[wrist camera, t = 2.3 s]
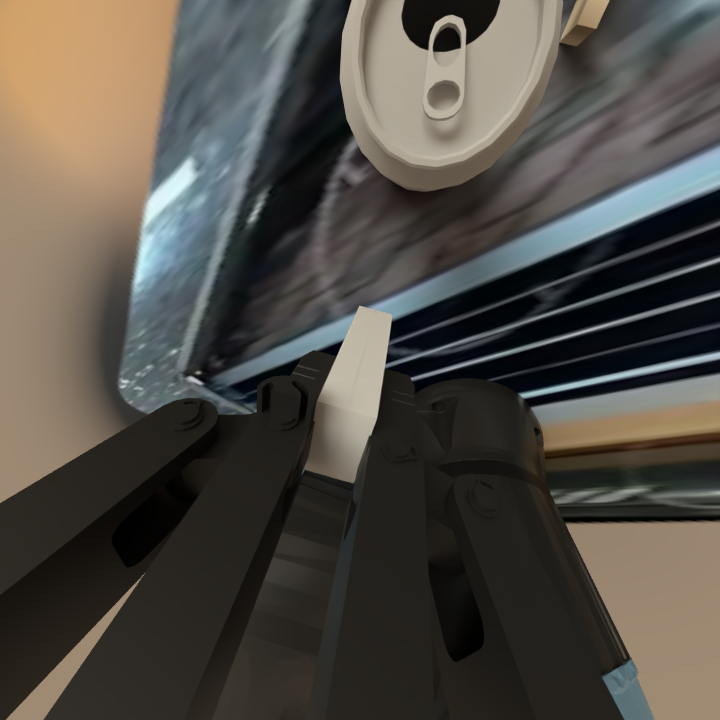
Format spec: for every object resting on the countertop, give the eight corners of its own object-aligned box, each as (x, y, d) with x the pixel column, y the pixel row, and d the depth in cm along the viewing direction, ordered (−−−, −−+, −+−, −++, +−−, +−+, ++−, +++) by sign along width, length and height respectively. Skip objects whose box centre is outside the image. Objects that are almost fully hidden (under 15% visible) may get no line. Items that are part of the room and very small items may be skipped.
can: (498, 38, 16) (650, -228, 6) (476, 189, 20) (544, 185, 10) (370, 54, 17) (314, -147, 7) (372, 194, 21) (337, 194, 11)
